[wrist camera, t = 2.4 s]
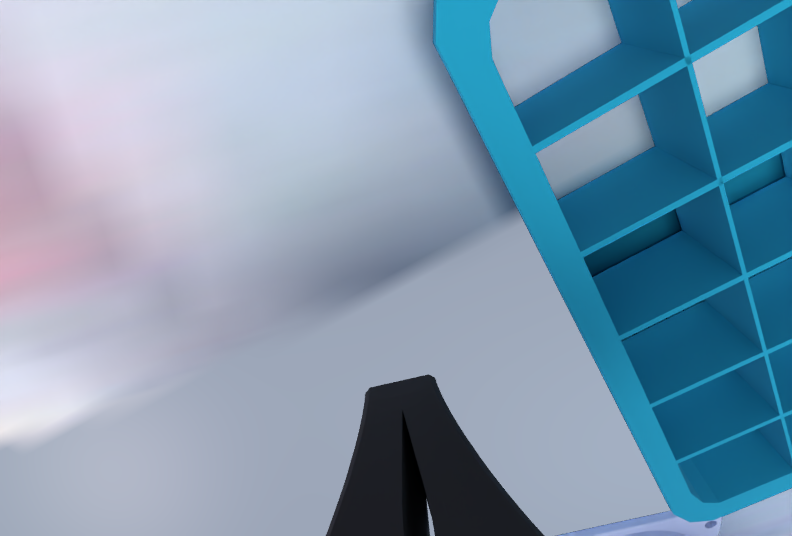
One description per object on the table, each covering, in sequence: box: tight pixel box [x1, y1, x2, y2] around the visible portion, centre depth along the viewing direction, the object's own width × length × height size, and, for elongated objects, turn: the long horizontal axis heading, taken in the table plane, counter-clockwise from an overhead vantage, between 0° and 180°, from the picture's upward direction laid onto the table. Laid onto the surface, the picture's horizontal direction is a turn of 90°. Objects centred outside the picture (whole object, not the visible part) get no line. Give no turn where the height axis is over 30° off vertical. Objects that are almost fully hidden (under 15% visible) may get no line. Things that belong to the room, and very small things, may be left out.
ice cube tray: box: [433, 0, 792, 523], centre depth 14 cm, size 12×20×3 cm, turn 31°
